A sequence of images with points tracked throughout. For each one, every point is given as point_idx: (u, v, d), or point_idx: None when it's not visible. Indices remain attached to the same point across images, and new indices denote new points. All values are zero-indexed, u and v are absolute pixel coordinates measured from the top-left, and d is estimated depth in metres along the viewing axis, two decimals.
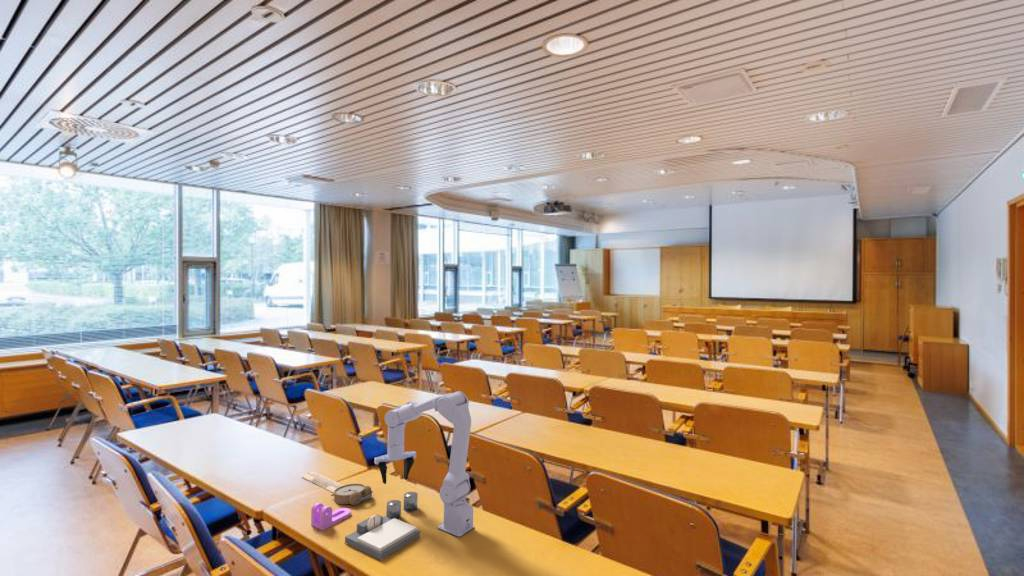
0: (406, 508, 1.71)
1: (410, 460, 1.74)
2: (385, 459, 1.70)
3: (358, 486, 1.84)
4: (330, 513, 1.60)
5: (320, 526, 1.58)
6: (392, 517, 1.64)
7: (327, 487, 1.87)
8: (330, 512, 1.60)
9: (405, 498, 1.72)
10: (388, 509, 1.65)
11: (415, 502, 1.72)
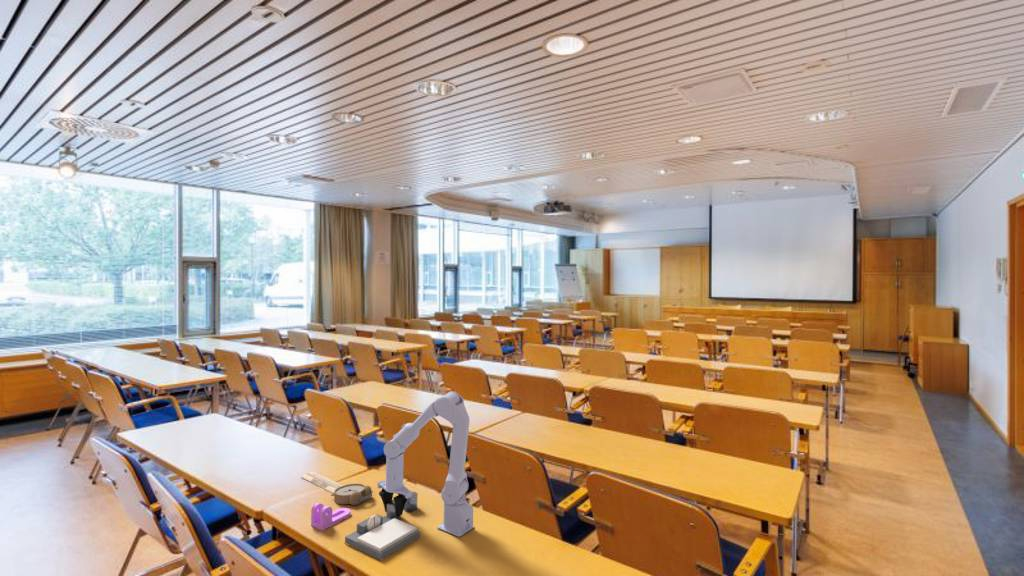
0: (406, 508, 1.71)
1: (400, 498, 1.62)
2: (382, 486, 1.67)
3: (358, 486, 1.84)
4: (330, 513, 1.59)
5: (320, 526, 1.57)
6: (392, 517, 1.64)
7: (326, 487, 1.87)
8: (330, 512, 1.59)
9: None
10: (388, 509, 1.65)
11: (415, 502, 1.72)
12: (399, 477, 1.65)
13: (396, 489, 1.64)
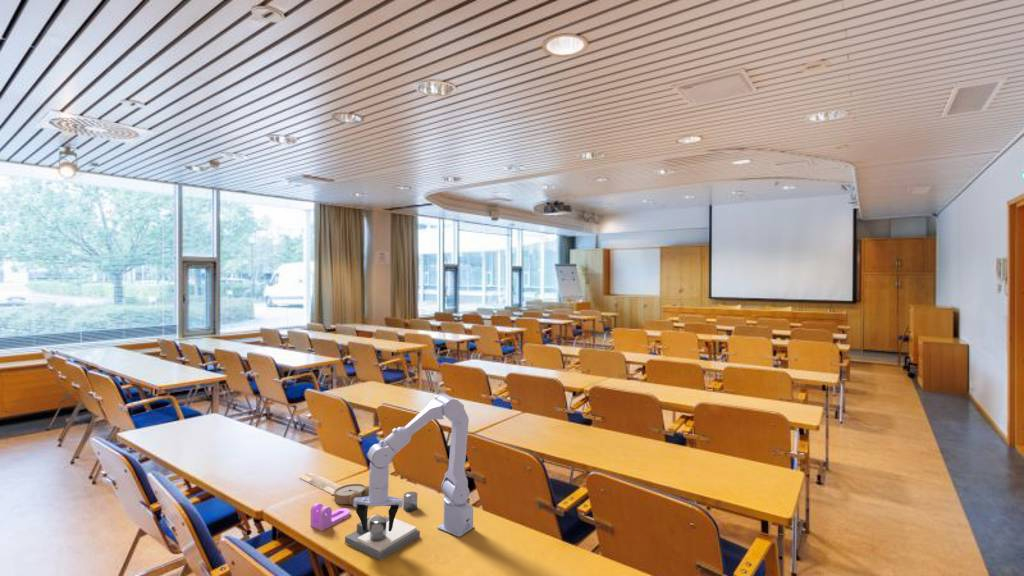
0: (405, 508, 1.71)
1: (393, 509, 1.46)
2: (363, 502, 1.46)
3: (358, 486, 1.84)
4: (329, 513, 1.59)
5: (319, 526, 1.57)
6: (381, 536, 1.46)
7: (325, 488, 1.86)
8: (329, 512, 1.59)
9: (404, 498, 1.72)
10: (376, 529, 1.46)
11: (414, 502, 1.72)
12: (387, 487, 1.47)
13: (385, 501, 1.46)
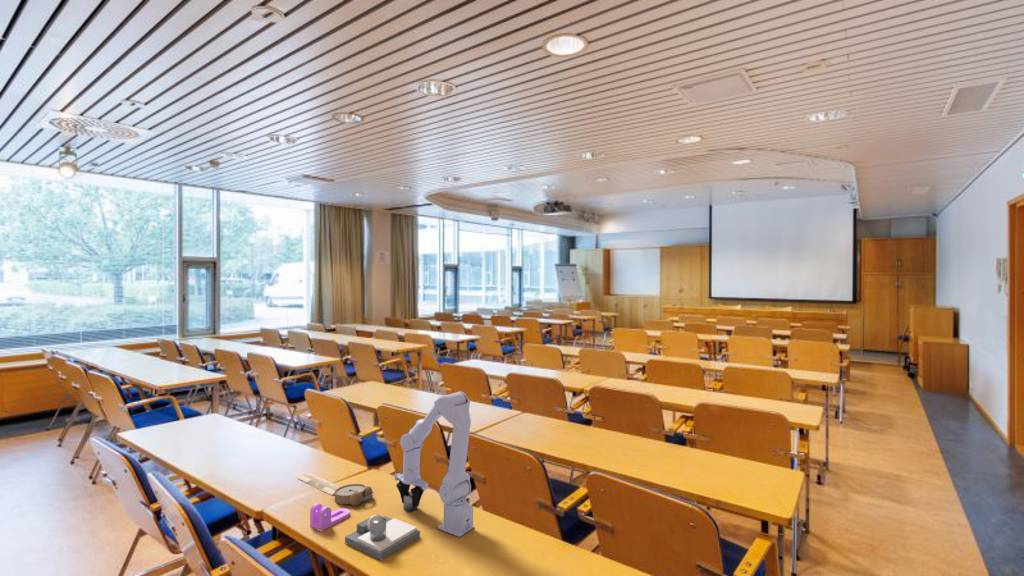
0: (405, 508, 1.71)
1: (417, 490, 1.69)
2: (399, 478, 1.74)
3: (359, 486, 1.84)
4: (329, 513, 1.59)
5: (319, 526, 1.57)
6: (382, 536, 1.46)
7: (323, 488, 1.86)
8: (329, 512, 1.59)
9: (404, 498, 1.72)
10: (376, 528, 1.46)
11: None
12: (416, 470, 1.71)
13: (413, 481, 1.71)
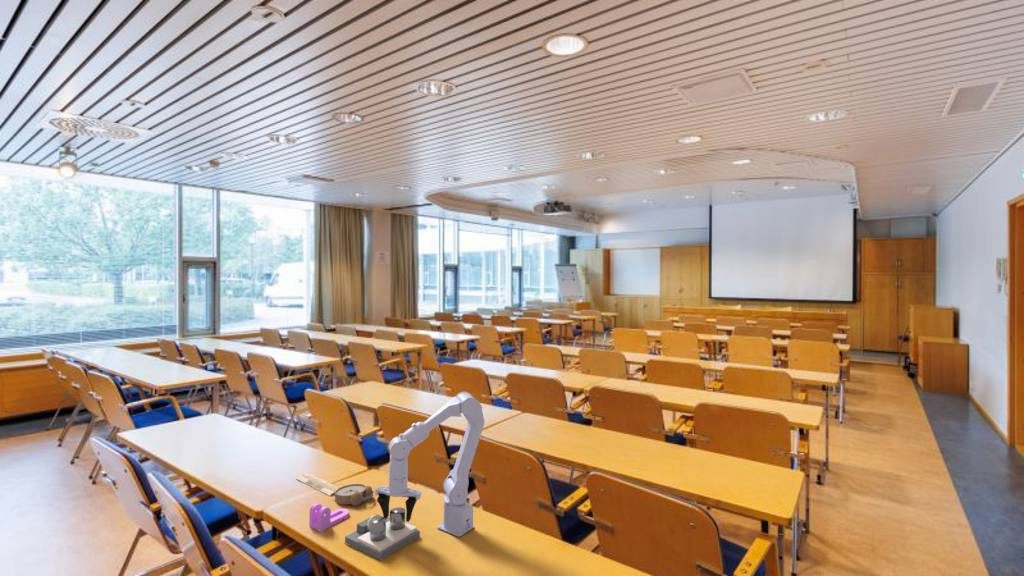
0: (395, 527, 1.52)
1: (410, 500, 1.52)
2: (383, 492, 1.53)
3: (359, 486, 1.84)
4: (328, 514, 1.59)
5: (318, 526, 1.57)
6: (383, 534, 1.47)
7: (321, 489, 1.85)
8: (328, 513, 1.59)
9: (393, 516, 1.52)
10: (378, 528, 1.46)
11: (404, 518, 1.54)
12: (406, 479, 1.53)
13: (404, 492, 1.52)
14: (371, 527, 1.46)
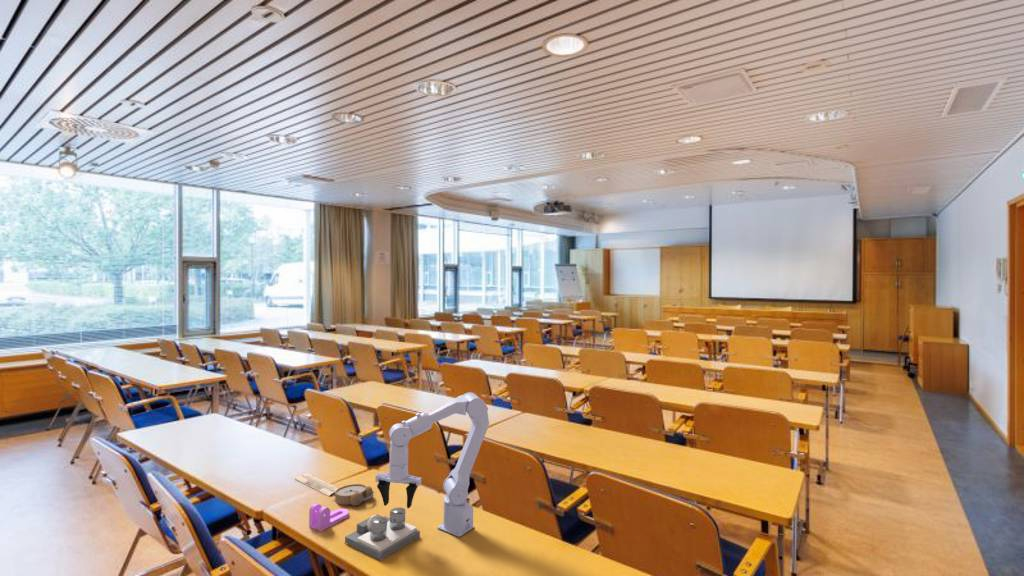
0: (395, 527, 1.52)
1: (410, 487, 1.52)
2: (383, 478, 1.53)
3: (359, 486, 1.84)
4: (328, 514, 1.59)
5: (318, 526, 1.57)
6: (385, 534, 1.47)
7: (320, 489, 1.85)
8: (328, 513, 1.59)
9: (393, 516, 1.52)
10: (381, 528, 1.46)
11: (404, 518, 1.54)
12: (406, 465, 1.53)
13: (404, 478, 1.52)
14: (374, 527, 1.46)
